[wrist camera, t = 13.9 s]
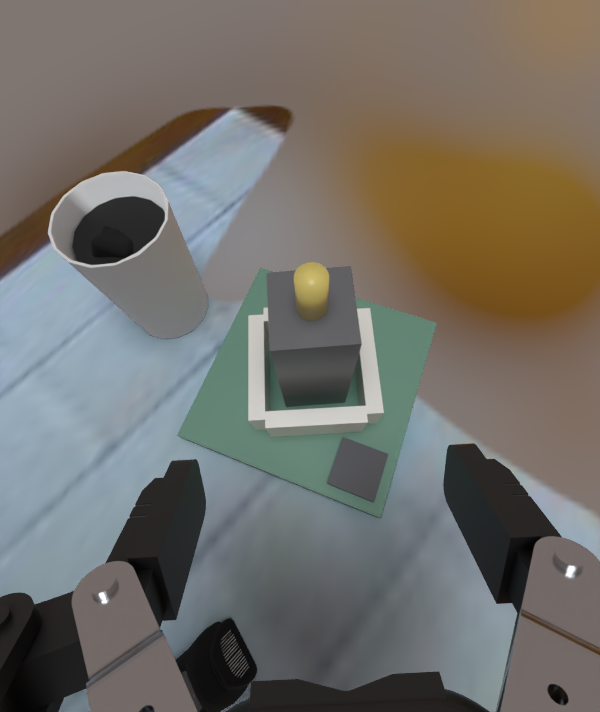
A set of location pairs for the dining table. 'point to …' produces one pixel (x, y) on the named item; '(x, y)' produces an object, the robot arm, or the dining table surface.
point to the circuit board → (319, 451)
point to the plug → (313, 333)
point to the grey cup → (131, 251)
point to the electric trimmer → (217, 667)
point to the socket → (318, 417)
